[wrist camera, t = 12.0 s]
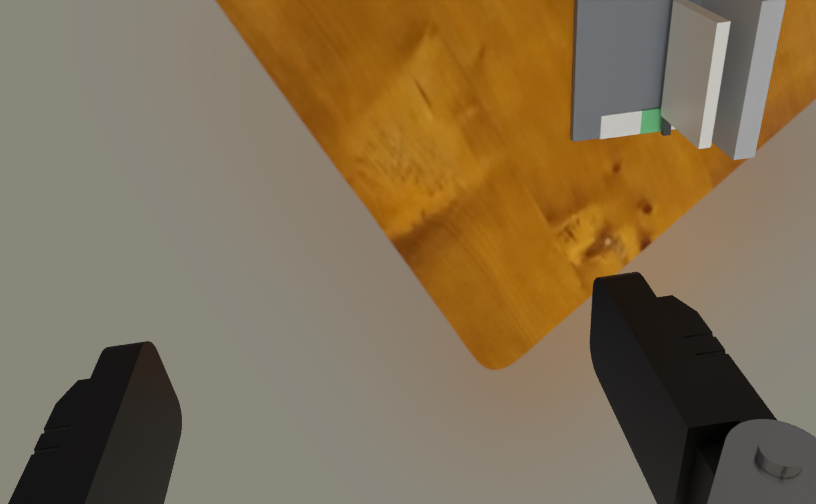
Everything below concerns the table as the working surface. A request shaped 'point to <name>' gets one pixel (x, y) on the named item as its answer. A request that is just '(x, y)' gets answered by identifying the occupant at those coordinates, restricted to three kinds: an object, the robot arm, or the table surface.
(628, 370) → the robot arm
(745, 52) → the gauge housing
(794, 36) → the table surface
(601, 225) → the table surface
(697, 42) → the panel
